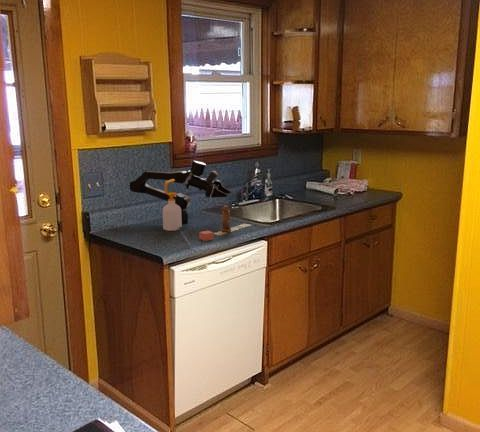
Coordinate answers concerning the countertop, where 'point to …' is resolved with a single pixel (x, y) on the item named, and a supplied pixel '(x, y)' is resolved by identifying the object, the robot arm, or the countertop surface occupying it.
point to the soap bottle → (171, 212)
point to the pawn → (226, 219)
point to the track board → (232, 229)
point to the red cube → (206, 235)
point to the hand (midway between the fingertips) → (228, 194)
